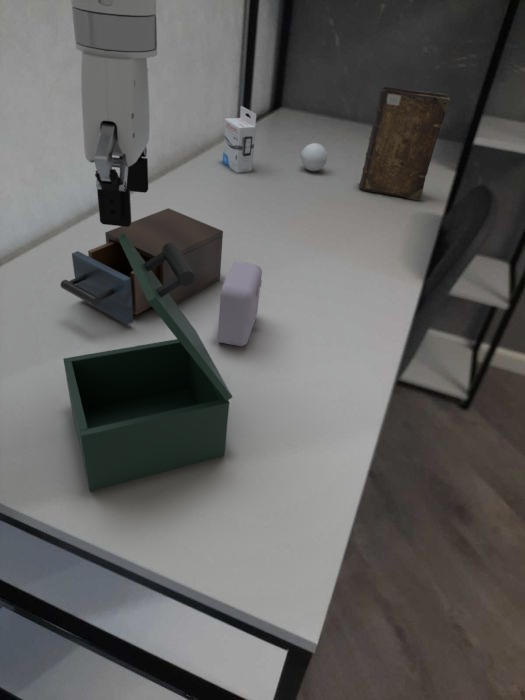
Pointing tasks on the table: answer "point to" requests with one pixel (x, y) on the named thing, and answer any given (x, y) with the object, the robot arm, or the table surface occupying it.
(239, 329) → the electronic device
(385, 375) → the table surface
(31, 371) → the table surface
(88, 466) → the chest
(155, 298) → the chest lid
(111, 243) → the drawer
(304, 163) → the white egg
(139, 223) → the cabinet
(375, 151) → the book
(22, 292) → the table surface
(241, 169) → the ink box
